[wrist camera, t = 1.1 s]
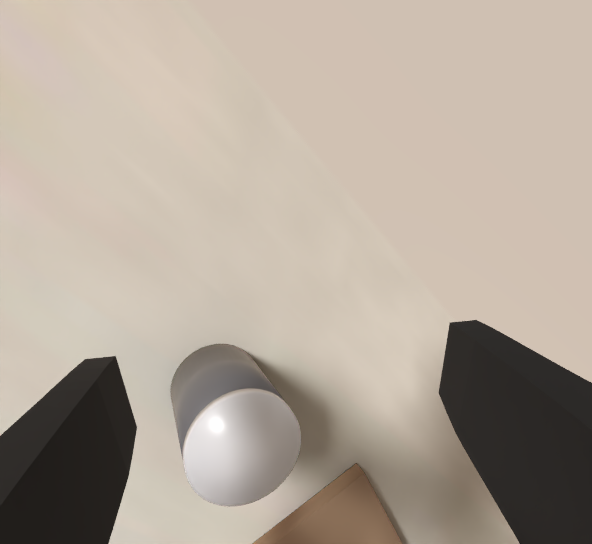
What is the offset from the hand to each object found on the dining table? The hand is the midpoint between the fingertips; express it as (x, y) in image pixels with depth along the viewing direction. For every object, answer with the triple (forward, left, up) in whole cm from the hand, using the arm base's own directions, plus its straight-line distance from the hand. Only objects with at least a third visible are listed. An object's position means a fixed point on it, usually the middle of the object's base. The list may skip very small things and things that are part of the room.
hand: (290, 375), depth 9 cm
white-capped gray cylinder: (-2, -5, -12) cm, 13 cm away
